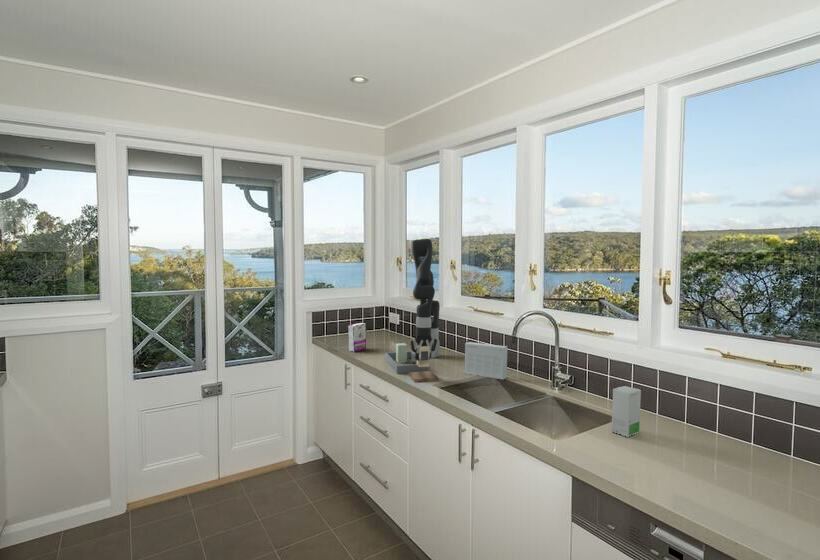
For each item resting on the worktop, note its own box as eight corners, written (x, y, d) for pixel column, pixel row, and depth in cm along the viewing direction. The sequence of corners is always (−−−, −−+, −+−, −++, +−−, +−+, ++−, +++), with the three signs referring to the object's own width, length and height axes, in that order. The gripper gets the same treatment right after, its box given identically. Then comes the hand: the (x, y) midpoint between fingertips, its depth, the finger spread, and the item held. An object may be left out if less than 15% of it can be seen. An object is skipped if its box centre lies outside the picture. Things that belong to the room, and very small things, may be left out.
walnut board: (430, 373, 233) (431, 370, 233) (438, 380, 222) (438, 377, 222) (408, 375, 230) (408, 372, 230) (414, 382, 219) (414, 379, 219)
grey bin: (411, 358, 266) (411, 351, 266) (426, 371, 237) (426, 364, 237) (384, 359, 262) (384, 352, 262) (396, 373, 233) (396, 366, 233)
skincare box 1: (507, 377, 228) (508, 346, 227) (503, 380, 224) (504, 348, 223) (468, 371, 239) (468, 341, 238) (463, 373, 234) (464, 343, 233)
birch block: (429, 366, 224) (429, 346, 223) (419, 367, 223) (419, 346, 222) (426, 364, 229) (426, 344, 228) (416, 364, 228) (416, 344, 227)
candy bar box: (360, 348, 291) (360, 322, 290) (366, 349, 288) (366, 323, 287) (348, 351, 282) (348, 324, 281) (353, 352, 279) (353, 325, 278)
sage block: (404, 360, 260) (404, 343, 260) (406, 362, 255) (406, 345, 255) (396, 361, 259) (396, 343, 258) (398, 363, 254) (398, 345, 253)
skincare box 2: (627, 438, 156) (629, 393, 155) (609, 431, 162) (611, 388, 161) (640, 432, 161) (642, 389, 160) (622, 426, 167) (624, 384, 166)
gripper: (411, 327, 219) (411, 362, 220) (439, 326, 222) (439, 361, 224) (407, 325, 226) (407, 358, 227) (435, 324, 230) (434, 357, 231)
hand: (423, 359), depth 225 cm, fingers closed on birch block, 5 cm apart
